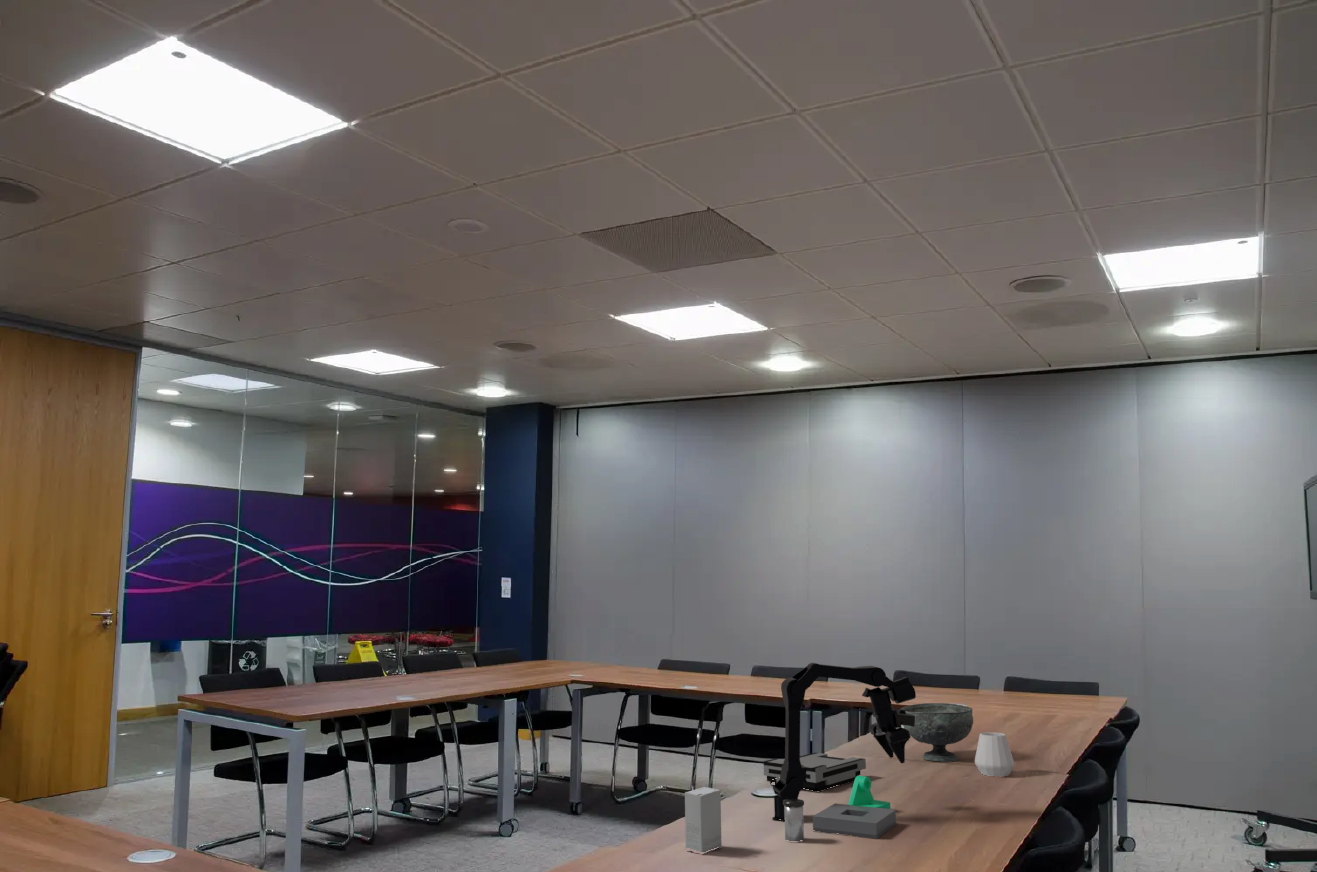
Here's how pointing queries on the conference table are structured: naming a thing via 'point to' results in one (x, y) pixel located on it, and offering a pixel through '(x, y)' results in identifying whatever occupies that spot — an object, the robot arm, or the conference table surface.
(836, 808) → the mount block
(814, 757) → the game console
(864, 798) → the camera mount
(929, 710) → the decorative bowl
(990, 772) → the white faceted vase
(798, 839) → the tube
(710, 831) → the skincare box
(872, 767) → the conference table surface
